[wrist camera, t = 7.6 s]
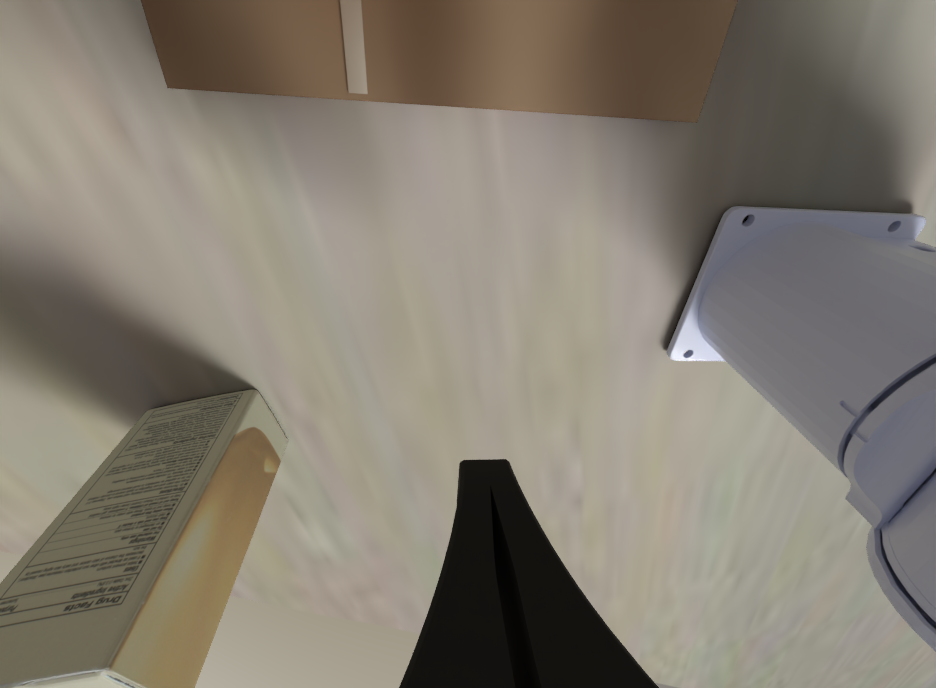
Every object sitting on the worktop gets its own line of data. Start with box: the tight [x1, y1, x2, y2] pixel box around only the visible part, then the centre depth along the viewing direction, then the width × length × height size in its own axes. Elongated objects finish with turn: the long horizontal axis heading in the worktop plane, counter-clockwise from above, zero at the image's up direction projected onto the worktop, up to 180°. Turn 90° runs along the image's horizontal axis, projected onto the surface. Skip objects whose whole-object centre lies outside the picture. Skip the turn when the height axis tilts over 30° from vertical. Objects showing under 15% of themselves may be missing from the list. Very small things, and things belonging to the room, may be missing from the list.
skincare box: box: [0, 389, 288, 688], centre depth 17 cm, size 6×4×12 cm
